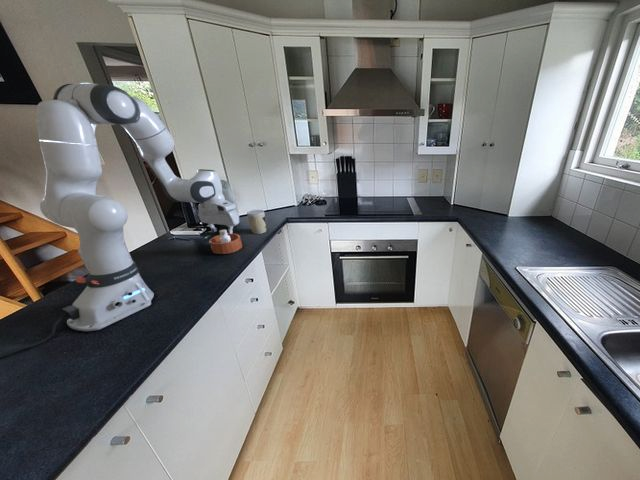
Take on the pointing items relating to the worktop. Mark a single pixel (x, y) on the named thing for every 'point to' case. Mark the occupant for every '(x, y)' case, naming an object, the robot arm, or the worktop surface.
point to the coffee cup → (257, 221)
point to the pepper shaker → (224, 236)
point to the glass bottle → (228, 194)
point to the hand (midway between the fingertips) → (222, 232)
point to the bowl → (226, 244)
